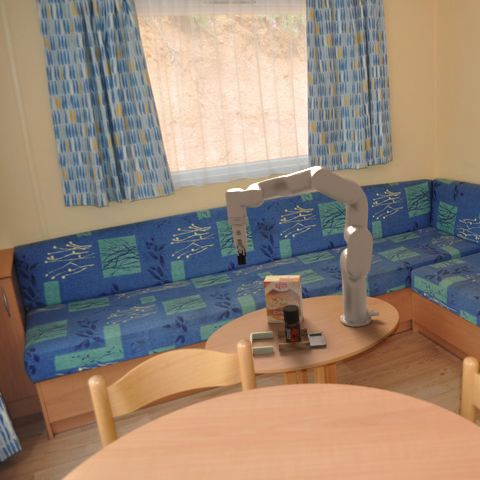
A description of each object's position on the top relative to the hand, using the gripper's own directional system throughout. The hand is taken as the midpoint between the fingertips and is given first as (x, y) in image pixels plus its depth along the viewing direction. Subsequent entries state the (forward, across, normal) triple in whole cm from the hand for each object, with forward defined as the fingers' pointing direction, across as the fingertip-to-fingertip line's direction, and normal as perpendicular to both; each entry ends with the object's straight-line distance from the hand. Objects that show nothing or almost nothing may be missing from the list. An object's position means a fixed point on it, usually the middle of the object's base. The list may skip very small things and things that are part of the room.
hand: (242, 260), depth 188 cm
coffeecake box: (+31, +6, -16) cm, 35 cm away
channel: (+31, -15, -17) cm, 38 cm away
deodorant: (+31, -15, -17) cm, 39 cm away
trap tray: (+31, -16, -26) cm, 43 cm away
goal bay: (+31, -15, -5) cm, 35 cm away
